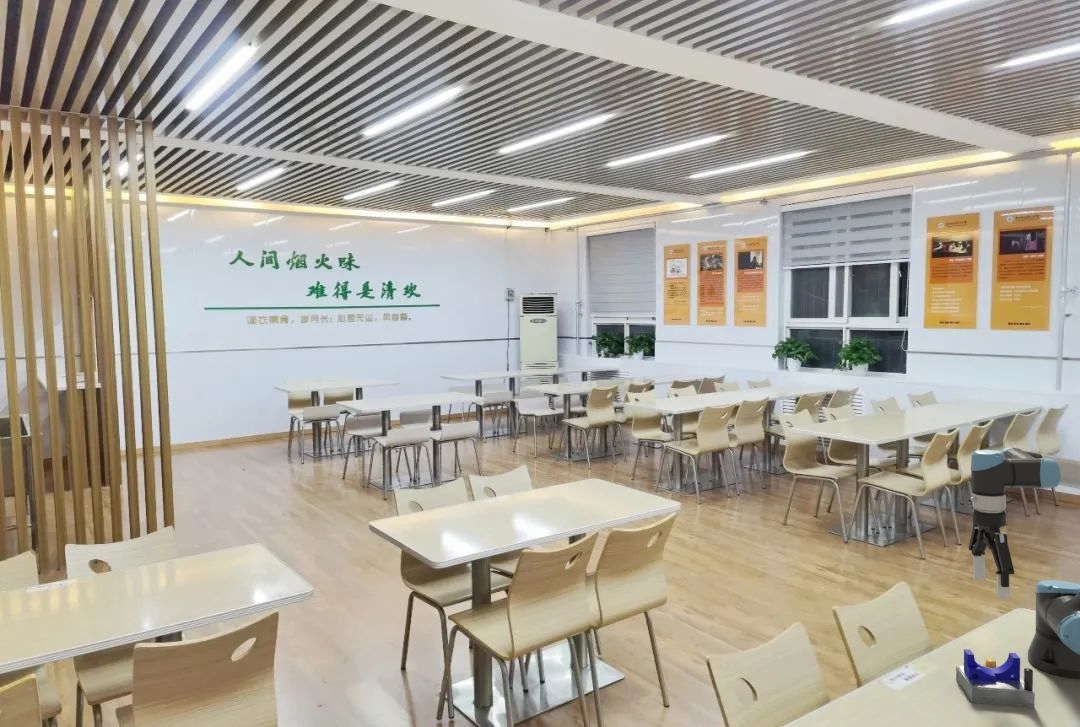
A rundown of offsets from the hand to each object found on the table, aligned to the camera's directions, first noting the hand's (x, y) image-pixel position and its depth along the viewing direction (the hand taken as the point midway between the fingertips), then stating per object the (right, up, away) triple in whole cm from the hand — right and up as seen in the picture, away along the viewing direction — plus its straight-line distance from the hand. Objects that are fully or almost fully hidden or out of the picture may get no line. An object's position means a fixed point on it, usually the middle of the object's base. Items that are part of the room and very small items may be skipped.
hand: (991, 588), depth 193 cm
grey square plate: (-3, -25, -5) cm, 26 cm away
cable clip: (-3, -22, -5) cm, 22 cm away
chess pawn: (+3, -25, +5) cm, 25 cm away
